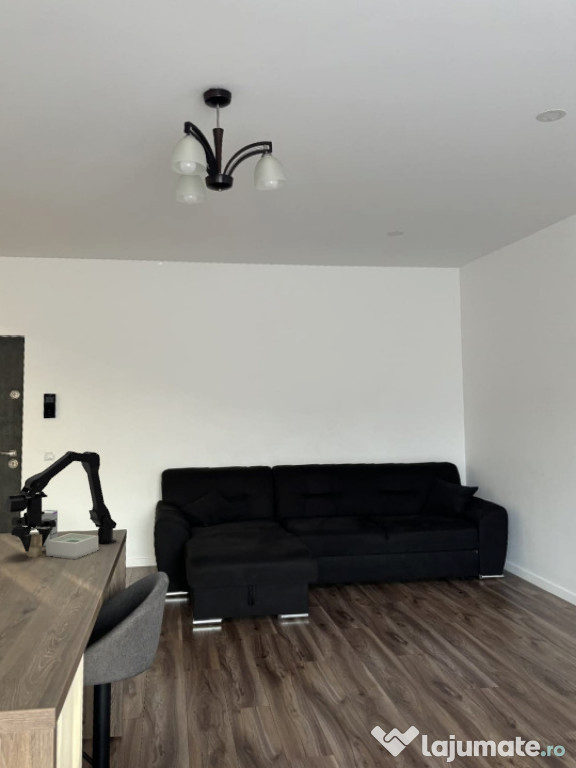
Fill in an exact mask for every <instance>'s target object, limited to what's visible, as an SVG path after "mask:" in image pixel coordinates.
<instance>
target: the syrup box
mask: <svg viewBox="0 0 576 768" xmlns="http://www.w3.org/2000/svg"><path fill="white" fill-rule="evenodd" d="M42 511H44V514H43V515H42V520H44V519H51V520H55V521H56V527H53V530H51V532H50V534H49V535H48V537H47V539H46V541H47V540H50V539H54V538H57V537H59V536H58V535H59V533H58V509H42ZM46 541H45V543H44V545H43V547H46Z"/></svg>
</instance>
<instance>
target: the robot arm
mask: <svg viewBox="0 0 576 768" xmlns="http://www.w3.org/2000/svg"><path fill="white" fill-rule="evenodd" d="M74 462H79V463H80V462H81V463H80V464H81V466H82V467H83V468H82V469H83V471H85V473H86V476H87V481H88V485H89V486H88V487H89V491H90V498H91V502H92V507H91V509H89V510H88V512H89V513H88V514H89V515H90V517H89V520H91V521H92V523H93V524H94V525H95V527H96V528H97V536H98V544H101V545H102V544H104V545H109V544H112V543H114V542H116V541H117V539H114V529H116V527H117V522H116V521H115V520H114V519H112V516H111V513H110V511H109V509H108V506H107V505H106V504H105V500H104V494H103V488H102V483H101V479H100V472H99V470H100V467H101V457H100V454H99V453H98V452H95V451H87V450H86V451H83V452H77V451H71V450H68V451H65V453H64V454H63V455H62V456H61V457H60V458H58V459H57V460H56V461H54V462H53V463H52V464H50V465H49V466H48V467H46V468H45V469H44V470H42V471H40V472H39V473H36V474H33V475H32V476H29V477H28V478H27V479H26V480H25V481H24V485H23V486H22V488H21V490H20V491H19V493H18V494H8V495H7V499H6V500H5V503H4V508H5V511H6V513H7V514H11V513H19V512H20V513H21V512H23V515H22V516H21V517H19V516H18V515H17V516H13V517H11V525H12V526H13V528H11V530H10V533H11V536H15V537H16V538H19V540H20V541H21V543H22V546H23V549H24V551H25V552H26V553H27V552H28V551H29V547H30V543H31V538H32V534H31V531H35V530H36V531H37V532H38V534H40V535H42V548H43V547H44V546H43V545H44V543H45V541H46V539H47V537H48V535H49V534H50V532H51V530H53V527H56V521H55V520H51V519H44V520H42V515H43V514H44V511H43V498H48V494H46V493H45V492H44V489H45V488H46V487H47V486H48V485H49V483H50V481H51V480H52V479H53V478H55V477H56V476H57V475H59V473H61V472H62V471H63V470H65V469H66V468H67V467H68V466H70V465H72V463H74ZM25 510H26V511H25ZM24 511H25V512H24ZM14 526H15V527H14Z"/></svg>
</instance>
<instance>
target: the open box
mask: <svg viewBox="0 0 576 768" xmlns="http://www.w3.org/2000/svg"><path fill="white" fill-rule="evenodd" d="M97 550H98V551H99V543H98V535H93V534H85V533H84V534H83V533H82V534H81V533H71V532H70V533H67V534H63V535H61V536H58V537H57V538H54V539H50V540H47V541H46V546H45V551H46V553H45V554H46V557H50V556H53V557H54V558H60V557H61V558H62V559H69V558H71V559H72V560H77V559H80V558H82V556H83V557H84V555H85V556H88V555H90V554H93V553H96V552H98V551H97ZM95 551H96V552H95ZM92 552H93V553H92ZM87 554H88V555H87ZM53 557H52V558H53ZM79 557H80V558H79ZM61 558H60V559H61ZM76 558H77V559H76ZM71 559H70V560H71Z"/></svg>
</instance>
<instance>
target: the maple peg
mask: <svg viewBox="0 0 576 768" xmlns="http://www.w3.org/2000/svg"><path fill="white" fill-rule="evenodd" d="M31 535H32V538H31V543H30V547H29V551H28V552H26V557H27V556H28V558H37V557H40V556H42V555H43V547H42V535H40V534H39V533H32V534H31Z"/></svg>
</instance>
